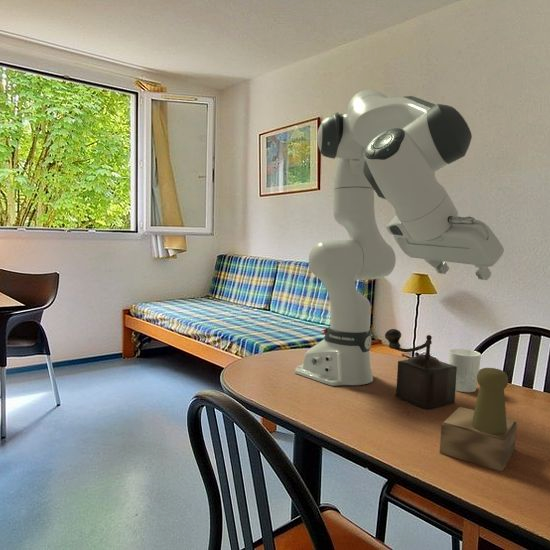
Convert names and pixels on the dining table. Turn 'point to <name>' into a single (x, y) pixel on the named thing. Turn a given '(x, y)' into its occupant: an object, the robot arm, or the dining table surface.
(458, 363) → the white cup
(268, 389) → the dining table surface
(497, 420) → the olive knobbed peg
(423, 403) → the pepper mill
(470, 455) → the walnut block
